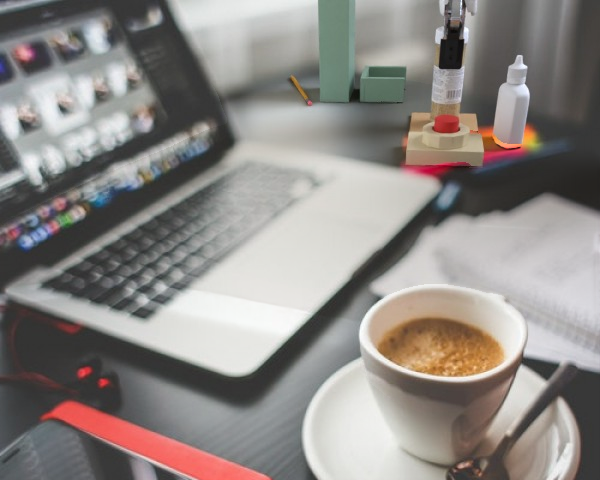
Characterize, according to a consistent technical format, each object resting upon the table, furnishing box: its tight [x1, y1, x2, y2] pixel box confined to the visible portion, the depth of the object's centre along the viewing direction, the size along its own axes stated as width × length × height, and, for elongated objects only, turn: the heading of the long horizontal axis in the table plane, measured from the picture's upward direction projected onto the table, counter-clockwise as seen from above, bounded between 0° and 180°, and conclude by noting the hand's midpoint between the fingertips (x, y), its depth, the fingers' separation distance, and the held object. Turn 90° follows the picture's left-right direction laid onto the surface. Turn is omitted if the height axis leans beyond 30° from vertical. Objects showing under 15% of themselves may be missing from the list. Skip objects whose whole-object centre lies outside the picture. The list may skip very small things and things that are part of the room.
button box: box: [405, 122, 485, 167], centre depth 85 cm, size 10×7×4 cm
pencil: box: [290, 75, 313, 107], centre depth 115 cm, size 19×1×1 cm, turn 11°
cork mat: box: [409, 112, 479, 132], centre depth 96 cm, size 10×10×1 cm
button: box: [434, 115, 459, 133], centre depth 84 cm, size 3×3×2 cm
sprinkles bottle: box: [430, 25, 470, 122], centre depth 92 cm, size 5×5×14 cm
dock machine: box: [317, 0, 408, 103], centre depth 106 cm, size 14×9×19 cm, turn 79°
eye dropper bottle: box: [492, 54, 531, 145], centre depth 86 cm, size 4×6×12 cm
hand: (449, 62), depth 91 cm, fingers closed on sprinkles bottle, 4 cm apart
